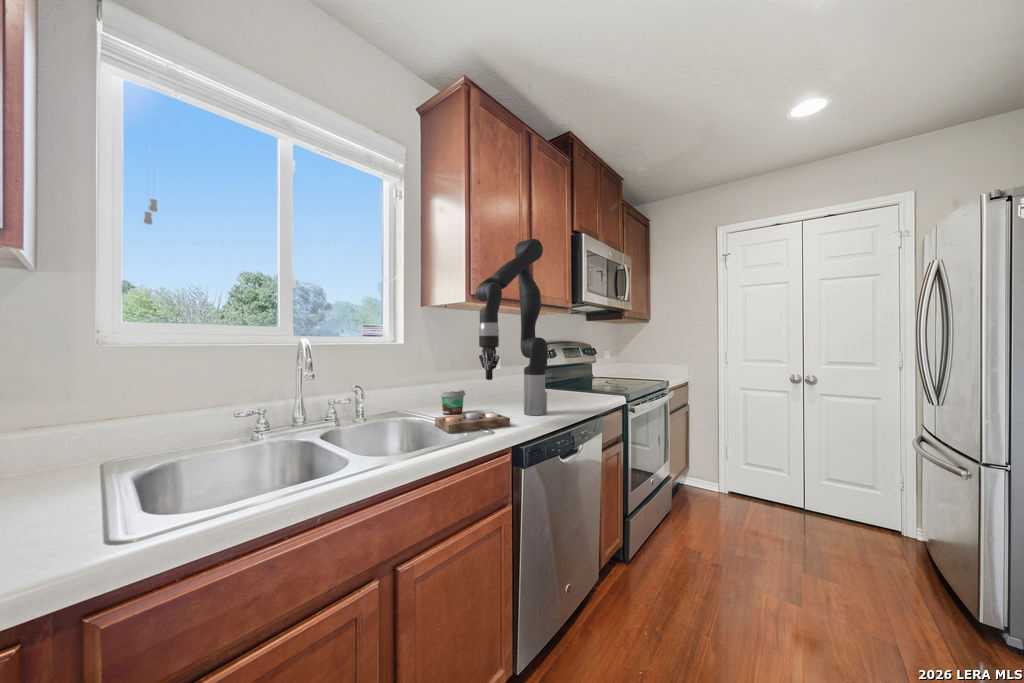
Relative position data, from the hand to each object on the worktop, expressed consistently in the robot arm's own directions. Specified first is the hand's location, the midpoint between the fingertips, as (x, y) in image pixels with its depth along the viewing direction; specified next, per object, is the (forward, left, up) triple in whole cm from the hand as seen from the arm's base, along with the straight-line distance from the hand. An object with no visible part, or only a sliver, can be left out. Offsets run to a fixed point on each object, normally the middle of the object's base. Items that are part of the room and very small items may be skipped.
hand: (489, 379), depth 147 cm
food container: (+4, -23, -17) cm, 29 cm away
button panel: (+8, +2, -17) cm, 18 cm away
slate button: (+8, +2, -15) cm, 17 cm away
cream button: (0, +2, -16) cm, 16 cm away
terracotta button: (+16, +2, -16) cm, 23 cm away
